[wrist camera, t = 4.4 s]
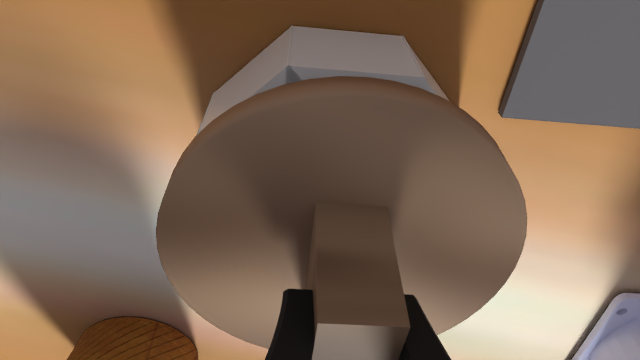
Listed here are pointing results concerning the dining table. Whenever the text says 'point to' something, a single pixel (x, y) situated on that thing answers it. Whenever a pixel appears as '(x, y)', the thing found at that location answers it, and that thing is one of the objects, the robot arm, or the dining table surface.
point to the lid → (341, 214)
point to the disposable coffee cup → (133, 341)
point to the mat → (578, 65)
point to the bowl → (322, 64)
